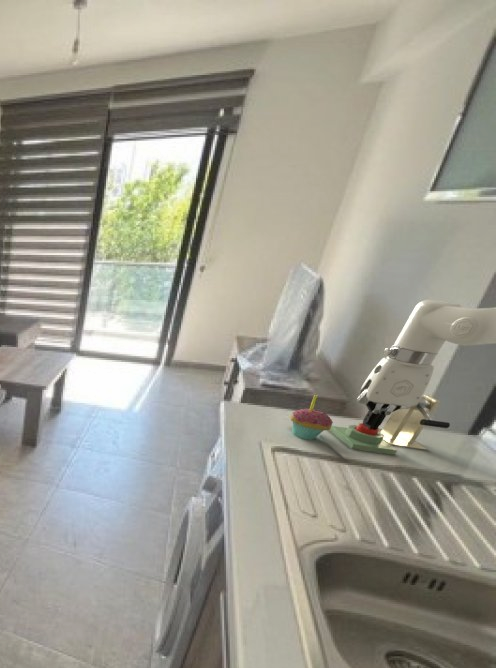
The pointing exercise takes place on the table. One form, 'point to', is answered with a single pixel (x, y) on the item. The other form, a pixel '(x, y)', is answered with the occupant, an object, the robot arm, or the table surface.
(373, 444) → the button box
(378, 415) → the robot arm
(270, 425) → the table surface
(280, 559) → the table surface
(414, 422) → the bracket
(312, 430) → the cupcake
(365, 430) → the button
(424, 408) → the lever
